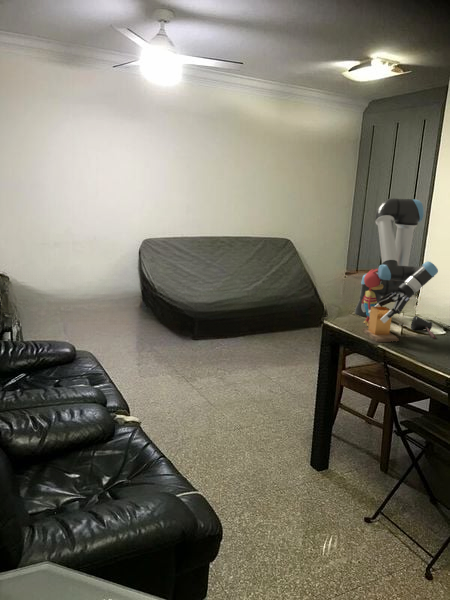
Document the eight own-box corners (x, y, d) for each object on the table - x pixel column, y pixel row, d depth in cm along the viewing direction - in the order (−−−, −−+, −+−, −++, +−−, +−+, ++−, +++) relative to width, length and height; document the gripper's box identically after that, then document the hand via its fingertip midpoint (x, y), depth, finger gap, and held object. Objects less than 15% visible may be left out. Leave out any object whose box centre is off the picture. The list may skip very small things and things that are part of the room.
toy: (383, 329, 246) (390, 271, 239) (363, 328, 246) (370, 270, 239) (374, 321, 261) (381, 266, 254) (355, 320, 261) (362, 265, 253)
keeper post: (362, 331, 241) (364, 311, 239) (383, 331, 243) (385, 312, 240) (376, 341, 226) (379, 321, 223) (398, 341, 227) (401, 321, 225)
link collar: (368, 330, 239) (371, 306, 236) (382, 330, 240) (385, 306, 237) (374, 334, 231) (377, 310, 229) (389, 334, 232) (392, 310, 230)
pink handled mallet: (409, 326, 253) (425, 330, 253) (416, 341, 237) (434, 345, 236) (414, 313, 250) (430, 317, 250) (421, 327, 234) (439, 331, 233)
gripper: (427, 298, 221) (392, 330, 222) (400, 288, 246) (369, 316, 247) (418, 287, 220) (382, 318, 221) (392, 277, 244) (360, 306, 245)
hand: (375, 317), depth 234 cm, fingers open, 13 cm apart
